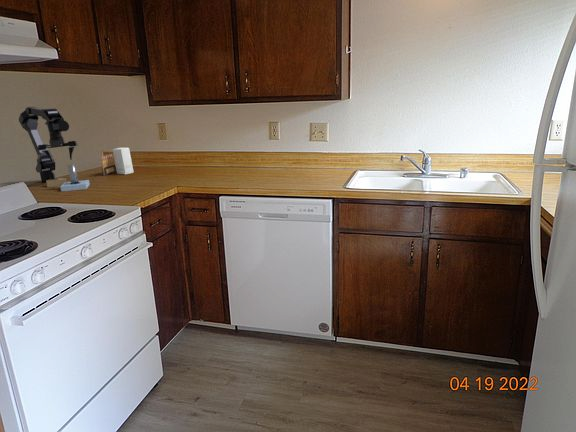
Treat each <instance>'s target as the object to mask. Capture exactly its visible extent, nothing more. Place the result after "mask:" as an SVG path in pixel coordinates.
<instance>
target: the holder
mask: <svg viewBox="0 0 576 432" xmlns="http://www.w3.org/2000/svg"><path fill="white" fill-rule="evenodd" d="M78 182H79V184H71V181H67V182H65V183H64V184H63V185H62V186H61V187H60V191H61V192H68V191H79V190H87V189H88V188H89V186H90V180H89V179H86V180H85V179H84V180H78Z"/></svg>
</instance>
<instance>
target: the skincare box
mask: <svg viewBox="0 0 576 432" xmlns="http://www.w3.org/2000/svg"><path fill="white" fill-rule="evenodd" d="M112 156H113V159H114V164H115V166H116V171H117V173H116V174H117V175H129V174H133V173H134V168H133V167H134V166H133V162H132V161H133V160H132V157H131V151H130V147H117V148H112Z"/></svg>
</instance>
